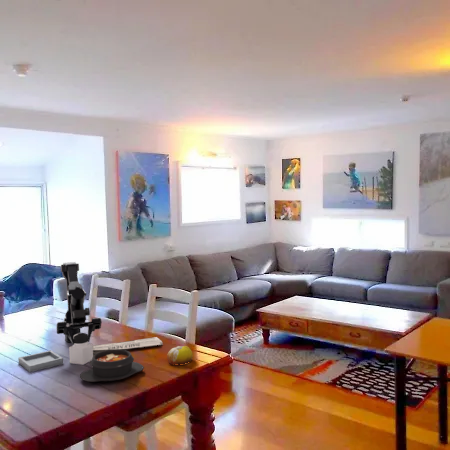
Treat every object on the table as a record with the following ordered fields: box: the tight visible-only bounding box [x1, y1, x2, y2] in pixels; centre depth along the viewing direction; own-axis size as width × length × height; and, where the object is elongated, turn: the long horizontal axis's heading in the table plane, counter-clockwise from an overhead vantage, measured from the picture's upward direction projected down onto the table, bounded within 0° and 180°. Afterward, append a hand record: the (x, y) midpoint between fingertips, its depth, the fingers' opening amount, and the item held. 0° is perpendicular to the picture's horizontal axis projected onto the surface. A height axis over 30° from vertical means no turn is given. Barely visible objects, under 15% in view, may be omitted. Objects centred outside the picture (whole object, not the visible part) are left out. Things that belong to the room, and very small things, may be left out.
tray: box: [17, 349, 64, 373], centre depth 202 cm, size 14×14×2 cm
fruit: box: [166, 345, 194, 366], centre depth 202 cm, size 11×10×8 cm
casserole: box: [79, 350, 144, 383], centre depth 187 cm, size 25×19×8 cm
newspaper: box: [93, 336, 164, 356], centre depth 221 cm, size 35×12×4 cm, turn 114°
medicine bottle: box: [68, 332, 94, 365], centre depth 204 cm, size 7×7×12 cm
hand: (81, 342), depth 202 cm, fingers closed on medicine bottle, 6 cm apart
